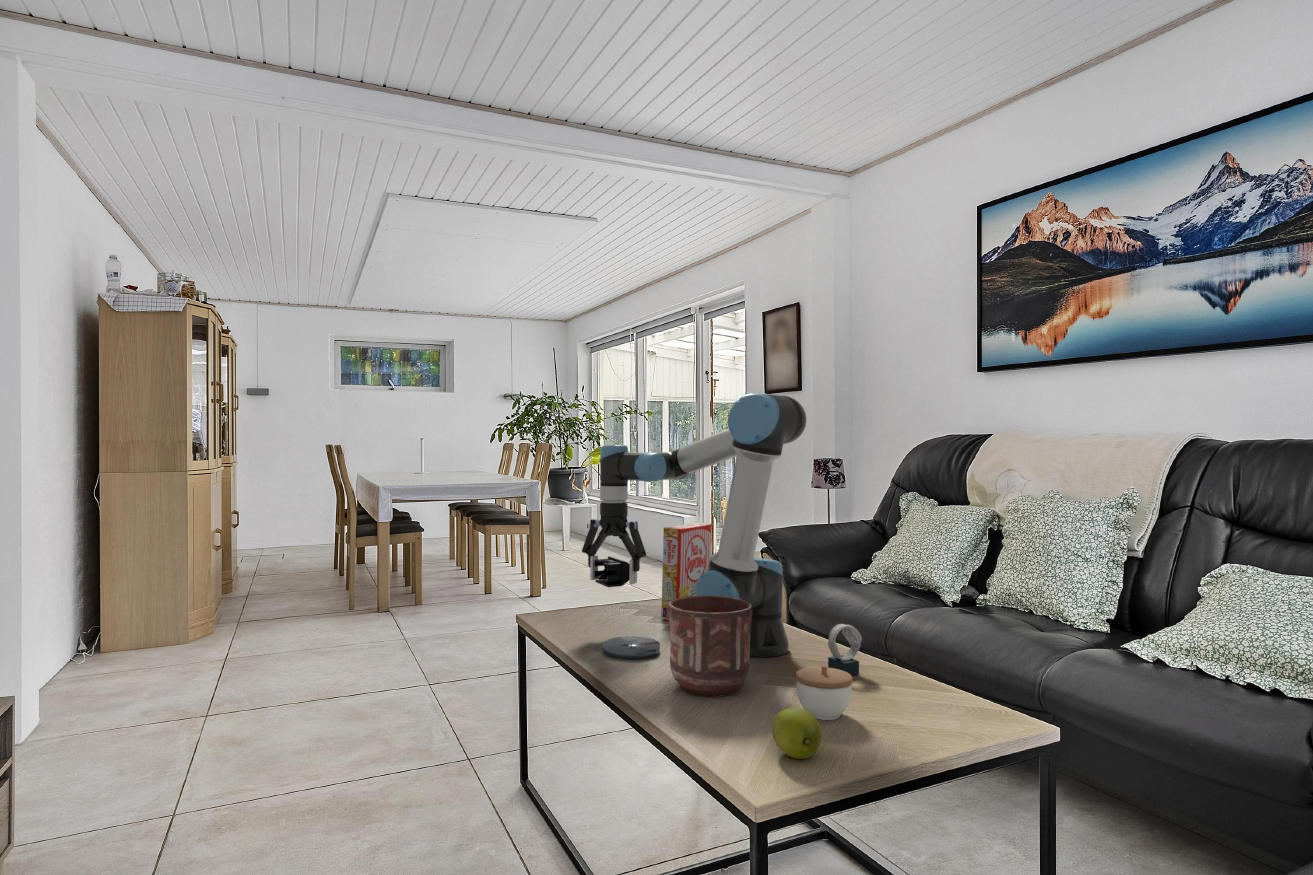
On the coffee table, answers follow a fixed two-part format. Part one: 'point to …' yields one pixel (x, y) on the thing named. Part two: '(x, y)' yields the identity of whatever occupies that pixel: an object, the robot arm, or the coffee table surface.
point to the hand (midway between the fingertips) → (613, 581)
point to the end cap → (612, 572)
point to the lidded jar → (824, 691)
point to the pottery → (710, 643)
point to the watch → (846, 661)
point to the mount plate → (631, 648)
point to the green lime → (796, 732)
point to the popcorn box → (683, 561)
